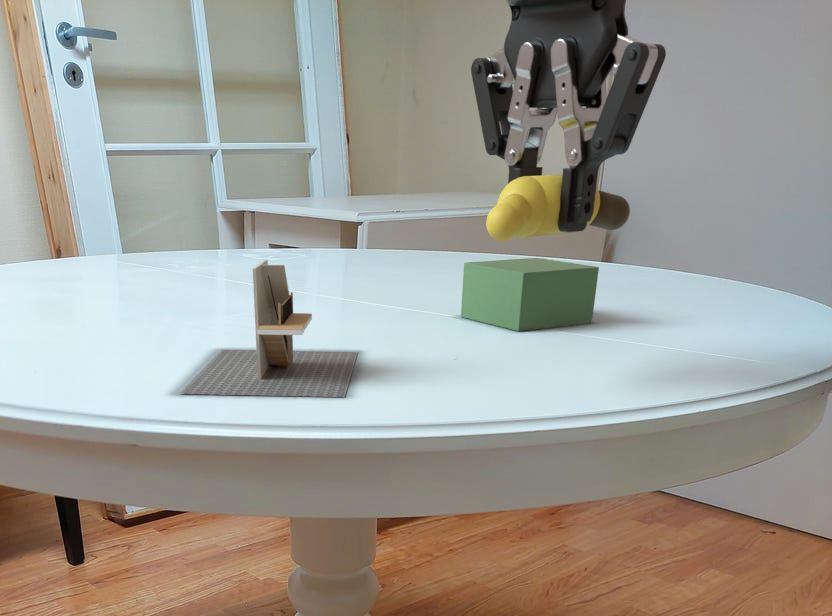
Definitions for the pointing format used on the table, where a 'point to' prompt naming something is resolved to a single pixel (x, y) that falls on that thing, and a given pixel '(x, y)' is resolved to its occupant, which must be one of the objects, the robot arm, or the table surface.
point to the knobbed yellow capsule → (546, 209)
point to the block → (529, 293)
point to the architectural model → (275, 352)
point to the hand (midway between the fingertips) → (546, 227)
